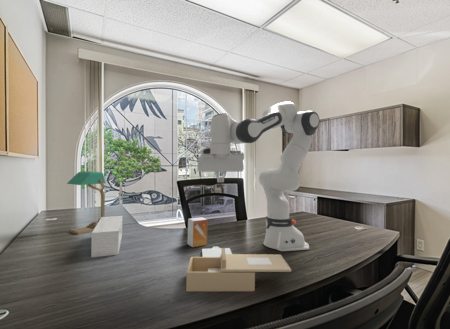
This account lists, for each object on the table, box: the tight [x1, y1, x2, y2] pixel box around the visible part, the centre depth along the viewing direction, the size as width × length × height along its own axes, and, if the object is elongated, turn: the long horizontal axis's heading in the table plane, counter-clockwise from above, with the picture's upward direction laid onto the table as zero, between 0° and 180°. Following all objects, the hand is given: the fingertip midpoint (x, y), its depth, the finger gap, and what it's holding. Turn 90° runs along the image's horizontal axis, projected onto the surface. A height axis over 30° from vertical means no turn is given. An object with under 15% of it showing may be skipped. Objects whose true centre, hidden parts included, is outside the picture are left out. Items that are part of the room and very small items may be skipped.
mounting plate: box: [201, 246, 233, 257], centre depth 105 cm, size 18×13×2 cm
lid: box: [220, 247, 292, 273], centre depth 84 cm, size 23×13×3 cm, turn 92°
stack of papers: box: [90, 215, 123, 258], centre depth 119 cm, size 32×11×11 cm, turn 21°
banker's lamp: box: [66, 170, 106, 235], centre depth 143 cm, size 16×21×35 cm
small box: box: [187, 216, 208, 248], centre depth 121 cm, size 8×6×13 cm
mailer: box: [185, 256, 256, 292], centre depth 83 cm, size 22×13×6 cm, turn 92°
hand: (220, 182), depth 105 cm, fingers closed
